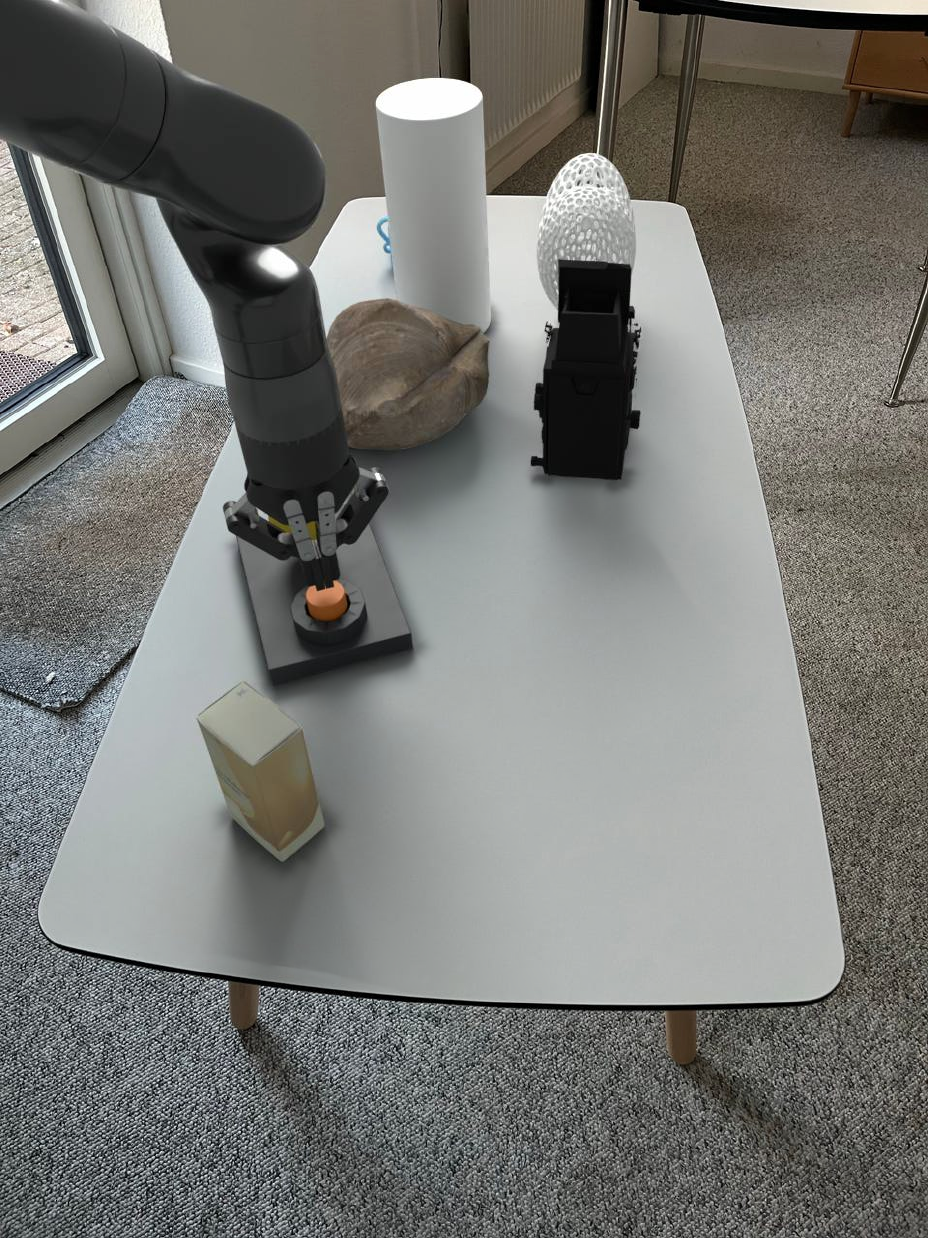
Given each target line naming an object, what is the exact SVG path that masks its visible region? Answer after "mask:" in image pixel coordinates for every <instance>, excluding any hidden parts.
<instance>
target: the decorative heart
mask: <svg viewBox="0 0 928 1238" xmlns="http://www.w3.org/2000/svg"><path fill="white" fill-rule="evenodd" d="M597 173H598V174H597ZM588 182H589V183H588ZM578 183H579V184H578ZM598 186H599V187H598ZM577 203H579V204H577ZM587 203H589V204H587ZM592 210H593V211H592ZM583 211H584V212H583ZM599 215H600V216H601V217H599ZM606 216H607V217H606ZM572 224H573V225H574V226H572ZM603 225H605V226H603ZM573 235H574V237H573V238H572V236H573ZM609 235H610V238H609ZM603 241H604V243H603ZM573 246H575V249H574V250H573ZM561 251H562V253H563V255H562V253H561ZM599 252H600V254H599ZM636 253H637V234H636V223H635V215H634V209H633V204H632V201H631V197H630V193H629V191H628V188H627V185H626V182H625V181H624V178H623V177H622V175H621V173H620V172H619V170H618V168H616V166H615V165H614V164H613V163H612V162H611V161H610V160H609V159H608V158H606V157H605V156H603V155H601V154H599V153H594V152H586V153H583V154H582V153H581V154H579V155H577V156H574V157H573V158H571V159H570V160H569V161H568V162H567V163H565V165H563V167H561V169H560V170H559V172H558V173H557V175H556V176H555V178H554V179H553V181H552V183H551V185H550V188H549V189H548V192H547V194H546V197H545V200H544V203H543V208H542V211H541V214H540V219H539V225H538V231H537V241H536V262H537V270H538V274H539V279H540V280H539V281H540V284H541V285H542V288H543V291H544V293H545V295H546V296H547V299H548V300H549V302H550V303H551V304H552V306H553V307H554V309H556V310H557V311H558V259H562V260H580V261H605V262H608V263H618V264H630V266H631V268H632V273H631V276H632V274H633V271H634V267H635V262H636ZM613 255H614V256H615V260H614V258H613ZM555 268H556V269H555ZM555 282H556V283H555Z"/></svg>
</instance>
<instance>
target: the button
mask: <svg viewBox="0 0 928 1238" xmlns="http://www.w3.org/2000/svg"><path fill="white" fill-rule="evenodd" d="M333 582H334V587H332V588H328V589H326V588H325V590H321V591H317V590H316V586H311V587H309V588H308V590H307V592H306V600H307V604H308V609H309V612H310V614H311V616H312V617H313V618H315V619H317V620H319V621H332V620H335V619H337V618H339V617H341V616H342V615H343V614H344V613H345V611H346V609H347V601H346V595H345V590H344V587H343V586H342V585H341V584H340V583H339V582H337V581H333ZM324 585H325V584H324Z"/></svg>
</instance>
